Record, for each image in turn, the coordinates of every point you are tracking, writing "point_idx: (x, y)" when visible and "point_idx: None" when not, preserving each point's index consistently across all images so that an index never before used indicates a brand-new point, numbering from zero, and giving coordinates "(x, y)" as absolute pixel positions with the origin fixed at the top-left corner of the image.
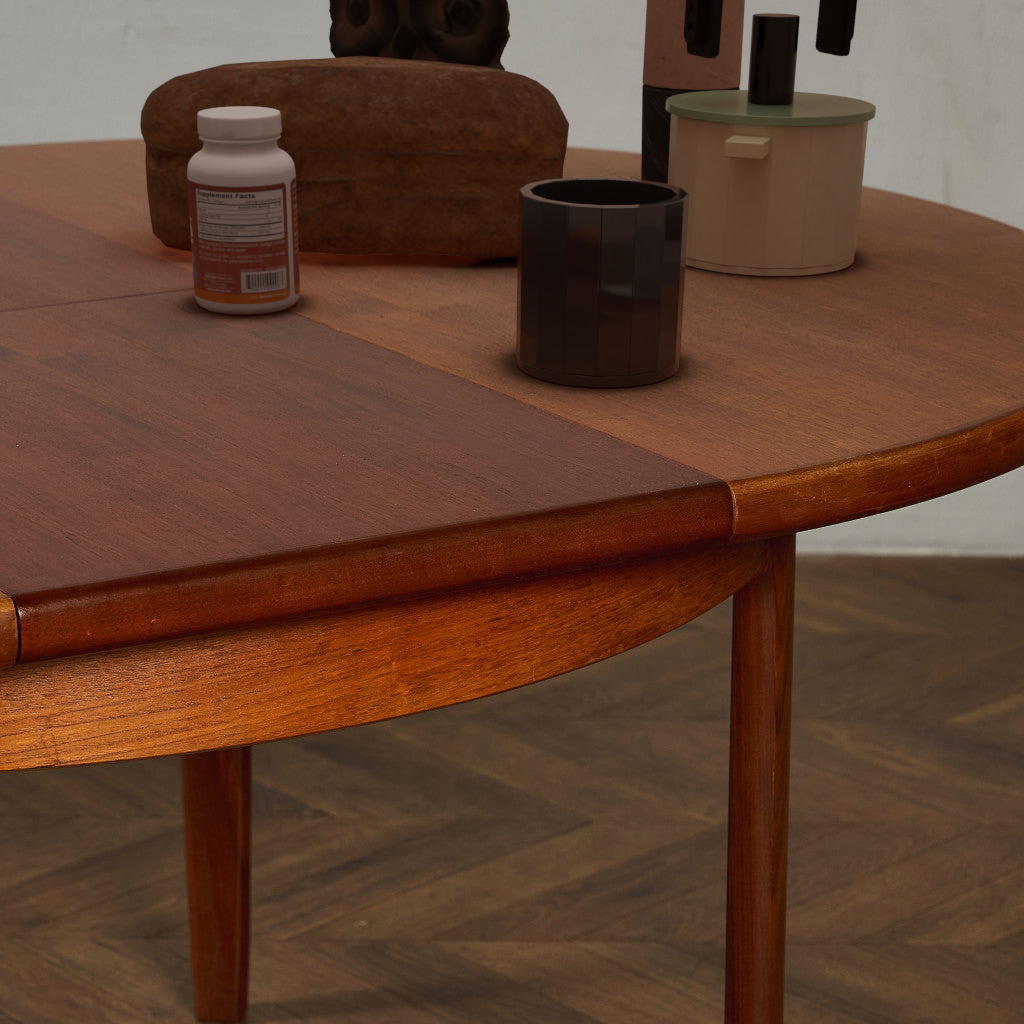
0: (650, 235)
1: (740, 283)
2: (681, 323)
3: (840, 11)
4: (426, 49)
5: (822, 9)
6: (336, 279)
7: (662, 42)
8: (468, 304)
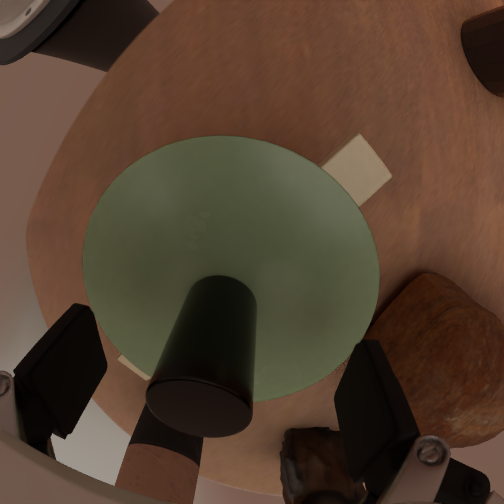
0: None
1: (322, 148)
2: (477, 17)
3: (55, 363)
4: (349, 499)
5: (77, 406)
6: (498, 282)
7: (189, 490)
8: (493, 199)
